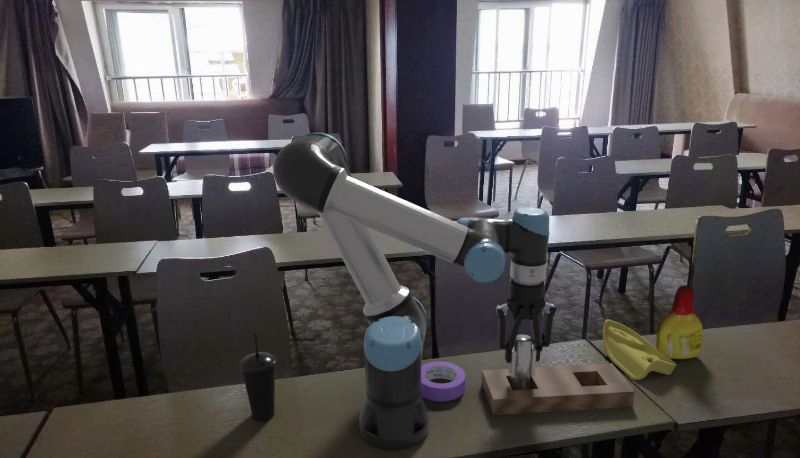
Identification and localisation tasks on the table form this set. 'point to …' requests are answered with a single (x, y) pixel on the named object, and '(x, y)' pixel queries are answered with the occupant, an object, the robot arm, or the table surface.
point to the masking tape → (447, 389)
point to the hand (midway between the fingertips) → (521, 373)
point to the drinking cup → (260, 382)
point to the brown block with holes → (558, 389)
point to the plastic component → (633, 352)
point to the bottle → (680, 328)
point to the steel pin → (522, 362)
